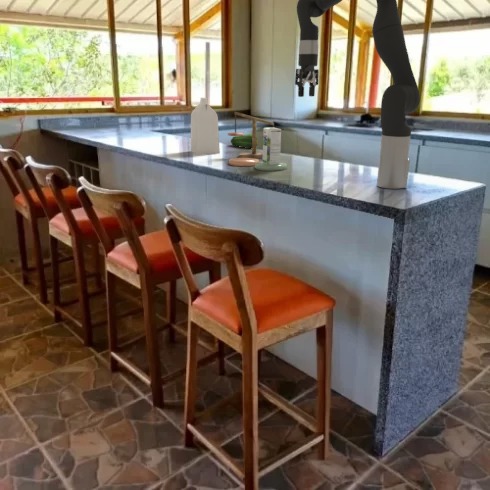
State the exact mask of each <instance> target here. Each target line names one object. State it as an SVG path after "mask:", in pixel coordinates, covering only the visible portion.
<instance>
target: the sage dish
mask: <svg viewBox="0 0 490 490" xmlns="http://www.w3.org/2000/svg"><path fill="white" fill-rule="evenodd" d="M262 162H263V161H259V162H258V163H255V166H254V169H256V170H258V171H264V172H265V171H266V172H277V171H280V172H281V171H284V170H286V169H287V168H288V167H287V166H288V164H287V163H285V162H281V161H280V165H266V164H263V163H262Z"/></svg>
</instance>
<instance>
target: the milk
mask: <svg viewBox="0 0 490 490" xmlns="http://www.w3.org/2000/svg"><path fill="white" fill-rule="evenodd" d="M219 131H220V130H219V116H218V113H217V112H216V111H215V109H213V108H212V107H211V106H210V105H209V104H208V98H207V97H200V102H199V104H197V105H196V106H195V107H194V109H193V110H192V111H191V114H190V152H192V153H194V154H196V155H213V154H218V155H219V154H220V153H221V151H220V149H221V148H220V133H219Z"/></svg>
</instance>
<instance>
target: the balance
mask: <svg viewBox="0 0 490 490" xmlns="http://www.w3.org/2000/svg"><path fill="white" fill-rule="evenodd" d="M233 114H234V132H227V136H232V137H236V136H243V135H244V133H243V132H237V116H240V117H243V118H245V119H250V120H251V121H252V129H251V130H252V134H251V135H252V148H251V152H239V153H238V158H254V159H263V152H257V146H256V137H257V122H260V123H264V124H267V125H270V126H272V128H275V123H274V122H272V121H269V120H265V119H262V118H259V117H255V116H252V115H248V114H245V113H242V112H237V111H234V112H233Z"/></svg>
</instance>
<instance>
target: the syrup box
mask: <svg viewBox="0 0 490 490" xmlns="http://www.w3.org/2000/svg"><path fill="white" fill-rule="evenodd" d="M262 137H263V139H262V153H263V158H262V161H261V162H262V163H263V164H266V165H280V162H281V147H282V128H279V127H278V128H277V127H274V128H273V126H272V127H269V126H268V127H263V136H262Z"/></svg>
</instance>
